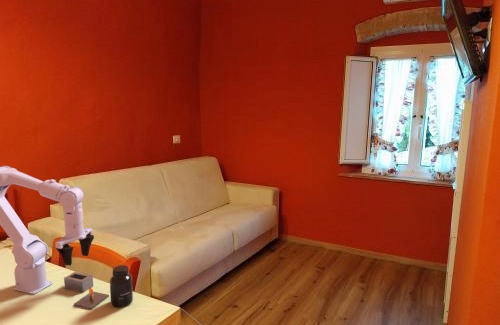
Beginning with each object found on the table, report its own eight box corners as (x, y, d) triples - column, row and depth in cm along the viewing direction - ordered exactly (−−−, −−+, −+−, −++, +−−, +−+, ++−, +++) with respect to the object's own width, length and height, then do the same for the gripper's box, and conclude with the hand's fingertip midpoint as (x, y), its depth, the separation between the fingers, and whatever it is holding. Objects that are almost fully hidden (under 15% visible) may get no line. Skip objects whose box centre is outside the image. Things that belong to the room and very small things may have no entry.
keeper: (73, 305, 112) (72, 292, 111) (92, 292, 119) (91, 280, 119) (91, 309, 110) (90, 296, 109) (108, 296, 117) (108, 283, 116)
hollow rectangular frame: (64, 288, 122) (63, 278, 121) (75, 282, 126) (74, 271, 126) (83, 292, 119) (82, 281, 119) (93, 285, 124) (92, 275, 123)
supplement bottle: (125, 309, 110) (123, 274, 108) (106, 307, 111) (104, 272, 109) (137, 298, 116) (135, 264, 114) (118, 295, 118) (116, 262, 116)
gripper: (66, 231, 111) (69, 271, 113) (98, 217, 124) (101, 253, 127) (49, 228, 113) (52, 267, 115) (83, 215, 127) (85, 250, 129)
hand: (77, 260), depth 121 cm, fingers open, 7 cm apart
